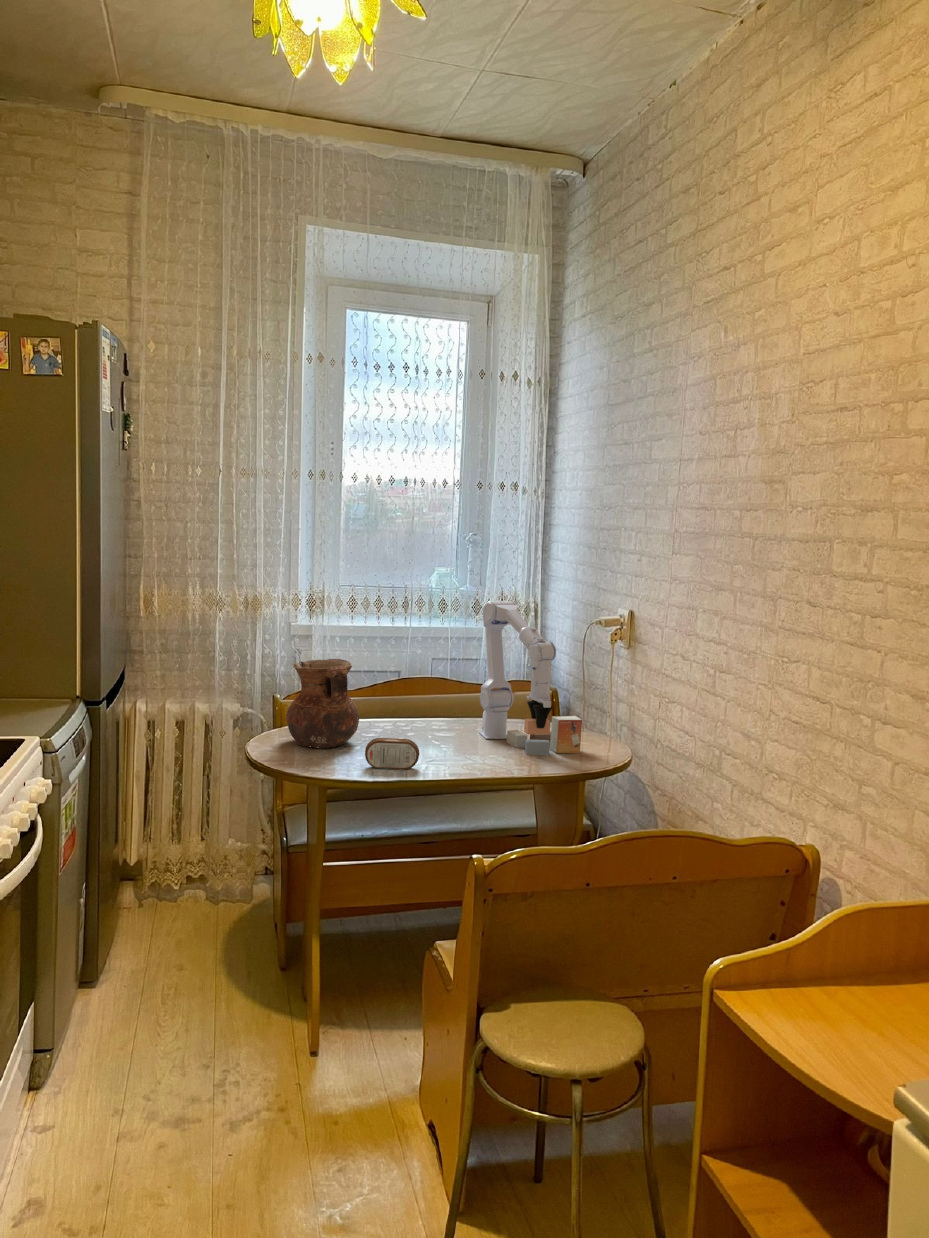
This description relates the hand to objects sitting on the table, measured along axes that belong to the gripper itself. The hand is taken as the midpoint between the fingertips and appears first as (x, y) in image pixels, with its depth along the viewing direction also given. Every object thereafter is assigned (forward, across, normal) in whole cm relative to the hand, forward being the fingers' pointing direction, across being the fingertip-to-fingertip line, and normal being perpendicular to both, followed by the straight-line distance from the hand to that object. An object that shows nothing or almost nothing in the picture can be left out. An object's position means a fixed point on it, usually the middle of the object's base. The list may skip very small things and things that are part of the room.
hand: (538, 726), depth 277 cm
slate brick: (+8, 0, 0) cm, 8 cm away
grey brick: (+8, -11, -3) cm, 14 cm away
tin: (+9, +12, -47) cm, 49 cm away
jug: (+8, -17, -63) cm, 66 cm away
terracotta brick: (+2, 0, 0) cm, 2 cm away
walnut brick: (+8, -10, +5) cm, 14 cm away
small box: (+9, -2, +10) cm, 13 cm away
